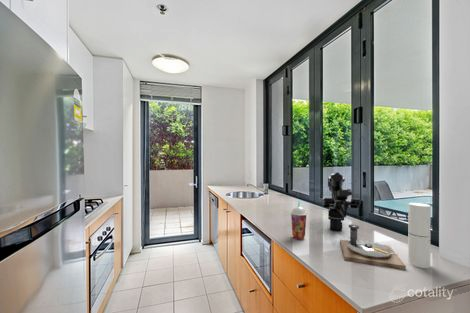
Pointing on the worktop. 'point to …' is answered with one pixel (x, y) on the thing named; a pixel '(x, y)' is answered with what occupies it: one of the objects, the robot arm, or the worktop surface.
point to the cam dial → (366, 246)
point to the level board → (387, 262)
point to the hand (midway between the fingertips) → (345, 216)
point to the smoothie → (298, 222)
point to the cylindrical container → (419, 234)
